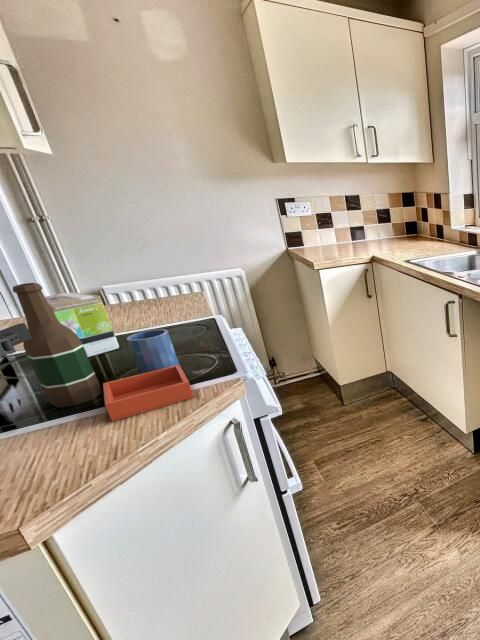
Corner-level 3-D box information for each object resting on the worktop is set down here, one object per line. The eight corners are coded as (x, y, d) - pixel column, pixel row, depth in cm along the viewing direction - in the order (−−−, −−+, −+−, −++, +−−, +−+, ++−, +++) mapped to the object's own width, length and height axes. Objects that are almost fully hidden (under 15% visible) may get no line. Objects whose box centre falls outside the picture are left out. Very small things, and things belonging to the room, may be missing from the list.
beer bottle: (53, 398, 87) (-1, 284, 78) (104, 386, 91) (58, 277, 83) (48, 412, 81) (-12, 291, 72) (102, 399, 86) (52, 284, 77)
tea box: (122, 348, 113) (101, 294, 108) (73, 362, 105) (48, 305, 99) (93, 341, 119) (72, 290, 114) (45, 353, 111) (20, 299, 105)
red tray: (109, 398, 86) (102, 383, 85) (184, 378, 94) (179, 364, 93) (112, 421, 78) (104, 404, 76) (194, 397, 86) (188, 381, 84)
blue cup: (141, 375, 96) (125, 335, 92) (178, 366, 100) (165, 327, 97) (144, 385, 91) (127, 342, 88) (183, 375, 96) (169, 334, 92)
